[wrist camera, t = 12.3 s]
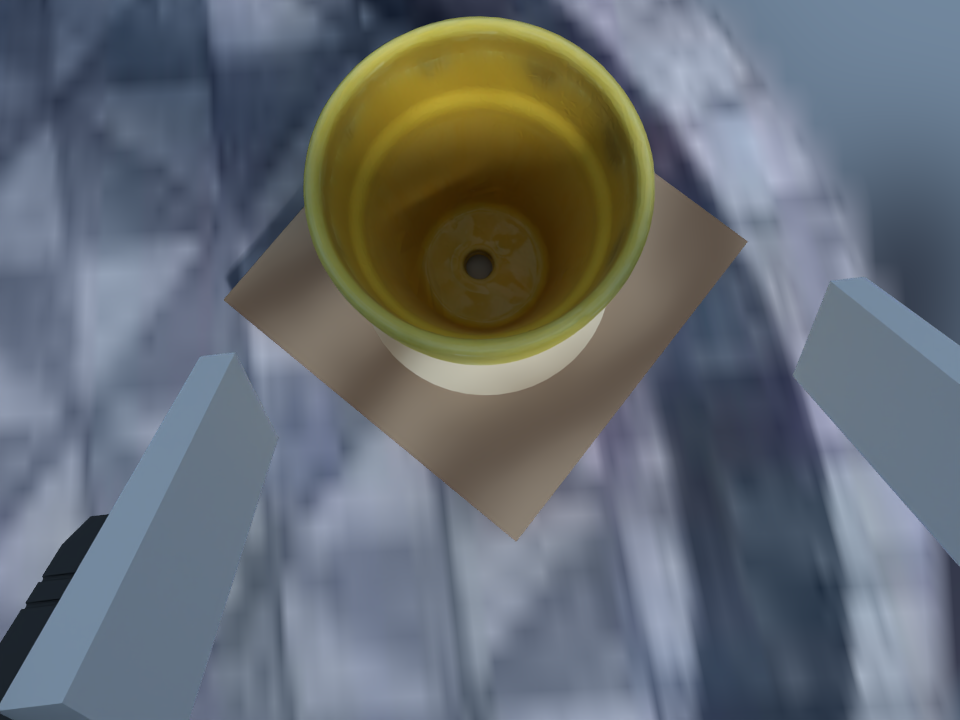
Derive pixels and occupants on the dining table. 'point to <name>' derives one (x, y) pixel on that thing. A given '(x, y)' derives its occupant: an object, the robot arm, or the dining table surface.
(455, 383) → the trivet board
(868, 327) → the robot arm
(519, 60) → the plant pot
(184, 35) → the dining table surface
